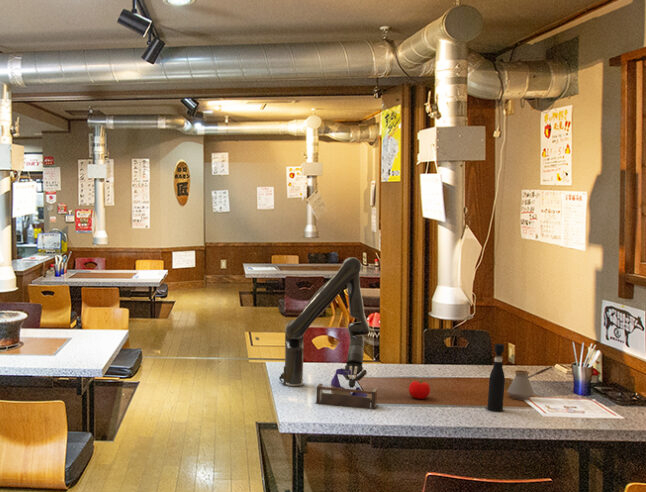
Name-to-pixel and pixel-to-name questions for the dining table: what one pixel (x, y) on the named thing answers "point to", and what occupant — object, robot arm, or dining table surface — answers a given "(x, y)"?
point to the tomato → (419, 389)
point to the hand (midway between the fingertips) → (351, 386)
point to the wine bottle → (496, 382)
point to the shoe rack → (346, 397)
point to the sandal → (336, 384)
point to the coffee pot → (522, 385)
